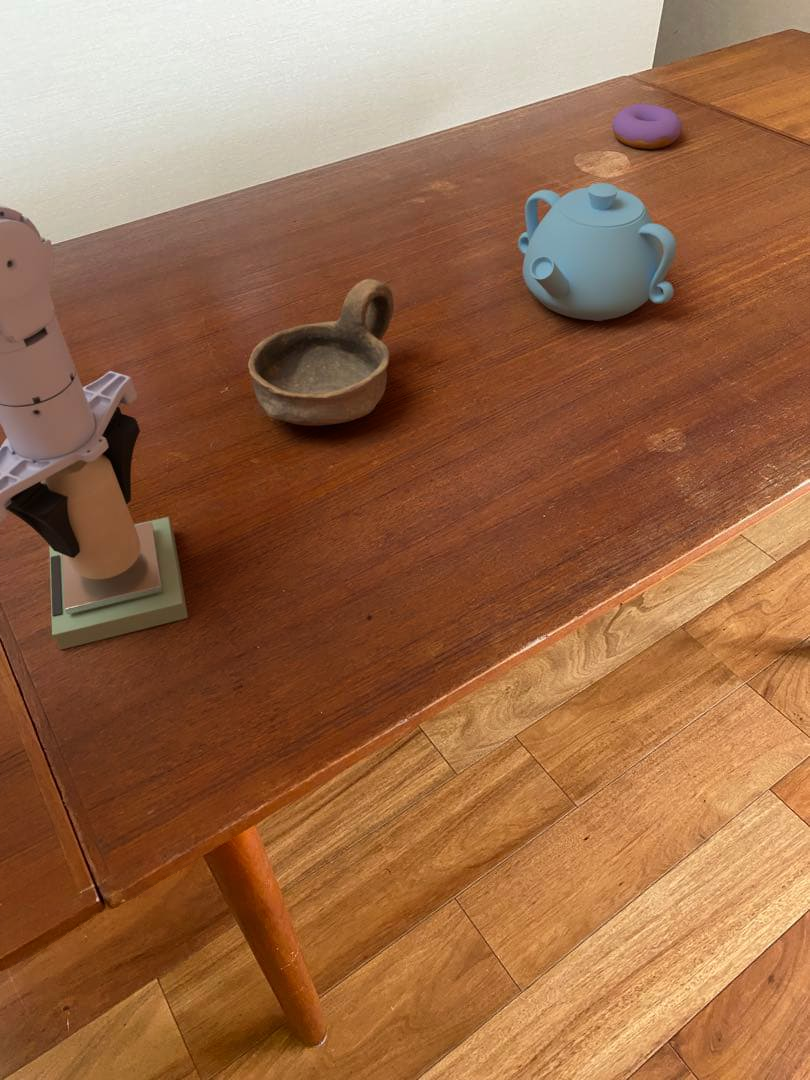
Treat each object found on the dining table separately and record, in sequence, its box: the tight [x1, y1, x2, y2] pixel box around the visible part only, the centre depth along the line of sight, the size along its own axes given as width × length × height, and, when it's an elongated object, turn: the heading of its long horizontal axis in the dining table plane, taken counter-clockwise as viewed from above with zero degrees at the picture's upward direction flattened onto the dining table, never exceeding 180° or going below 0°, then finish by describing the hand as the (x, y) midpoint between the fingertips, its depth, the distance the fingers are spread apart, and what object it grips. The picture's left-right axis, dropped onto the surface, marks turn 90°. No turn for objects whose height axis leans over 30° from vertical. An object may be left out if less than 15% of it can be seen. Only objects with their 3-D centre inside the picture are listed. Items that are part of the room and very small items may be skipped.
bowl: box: [247, 278, 395, 427], centre depth 84 cm, size 14×18×10 cm
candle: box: [40, 454, 141, 579], centre depth 65 cm, size 6×6×10 cm
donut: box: [611, 103, 682, 150], centre depth 126 cm, size 10×9×5 cm
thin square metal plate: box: [62, 522, 163, 615], centre depth 70 cm, size 7×7×1 cm
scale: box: [48, 516, 189, 651], centre depth 71 cm, size 10×10×2 cm
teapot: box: [517, 182, 677, 322], centre depth 94 cm, size 20×20×13 cm
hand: (92, 524), depth 66 cm, fingers closed on candle, 5 cm apart
